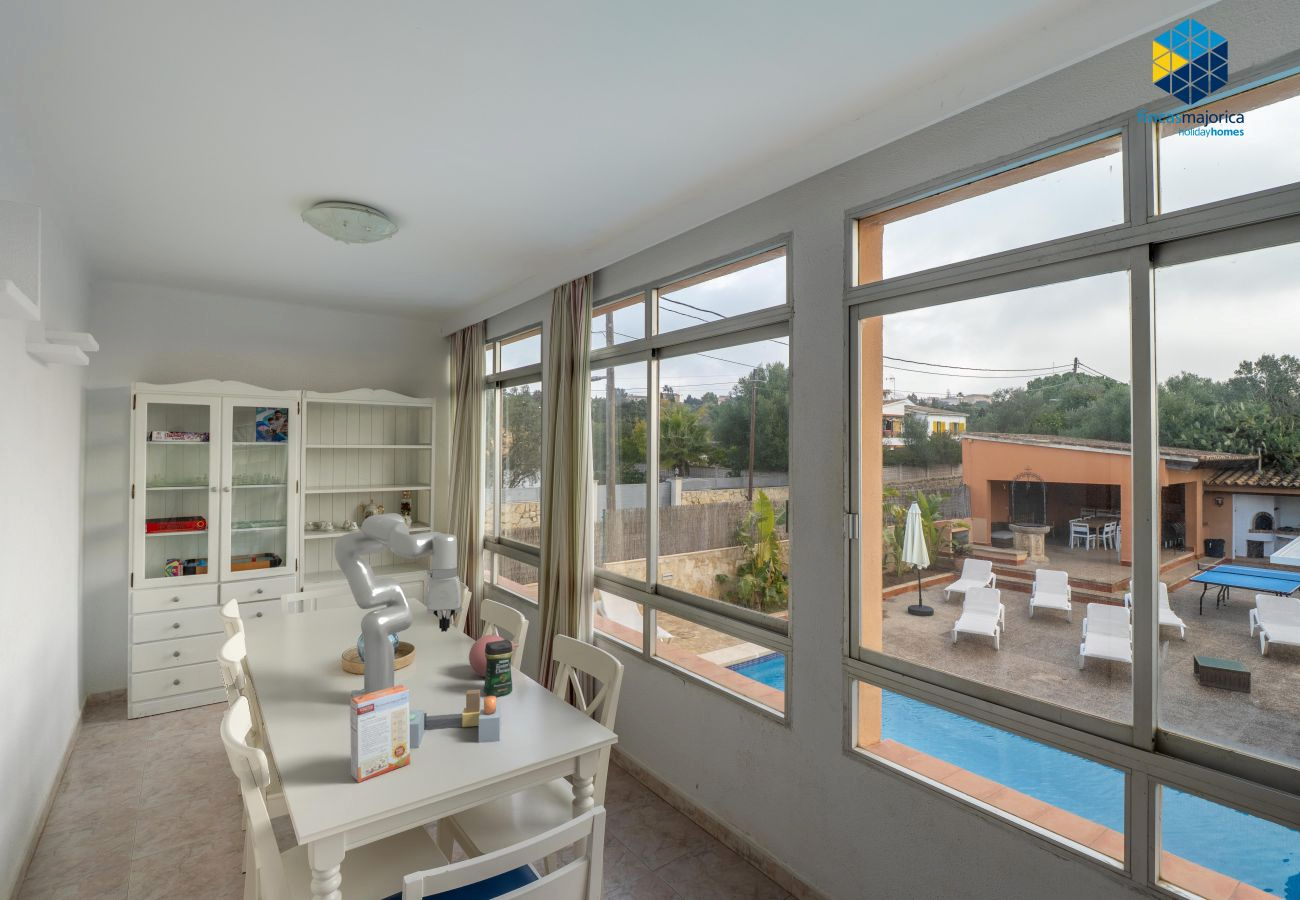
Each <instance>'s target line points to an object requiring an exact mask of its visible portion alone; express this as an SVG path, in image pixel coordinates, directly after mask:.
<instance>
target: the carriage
mask: <svg viewBox="0 0 1300 900" xmlns="http://www.w3.org/2000/svg"><path fill="white" fill-rule="evenodd" d="M465 696H466V697H465V705H466V706H465V707H464V708H463V711H462V714H463V715H462V727H461V728H468V726H469V727H479V715H480V710H481V689H469V690H466V693H465Z"/></svg>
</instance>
